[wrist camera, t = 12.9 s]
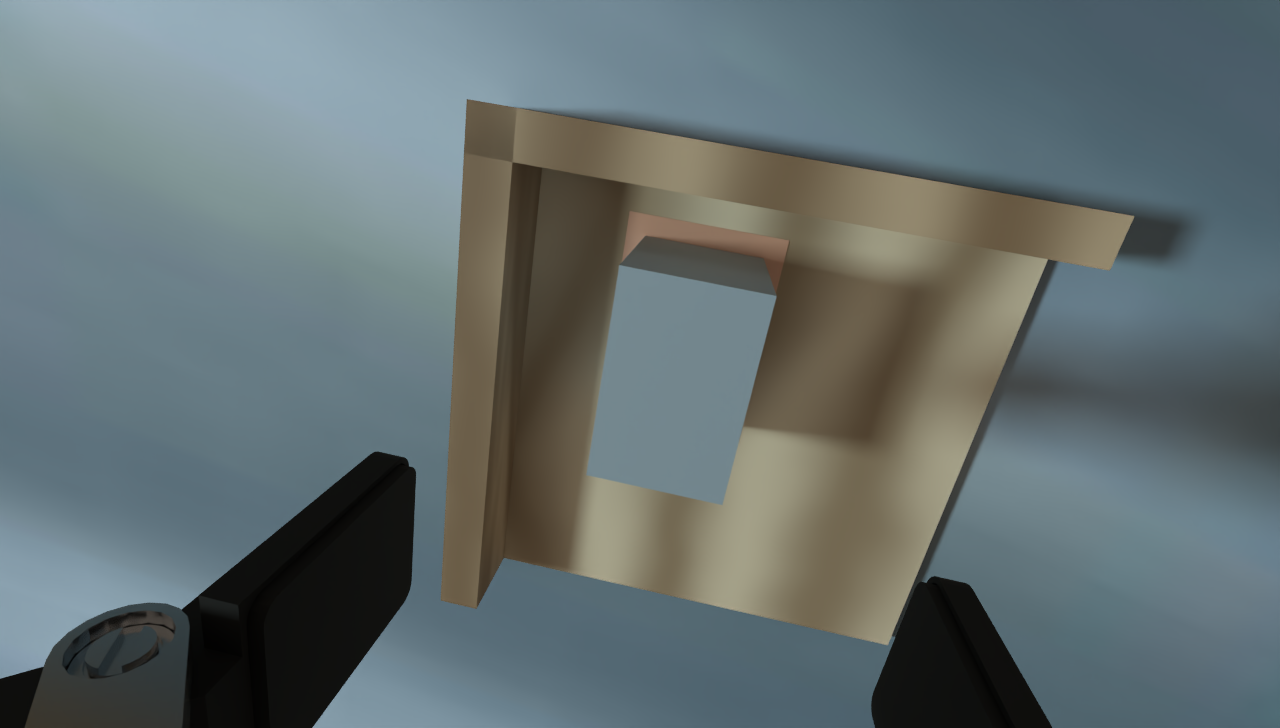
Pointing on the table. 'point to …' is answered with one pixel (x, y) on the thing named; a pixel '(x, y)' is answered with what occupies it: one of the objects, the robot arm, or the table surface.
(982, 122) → the table surface
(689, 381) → the grey block
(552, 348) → the wooden tray
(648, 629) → the table surface
